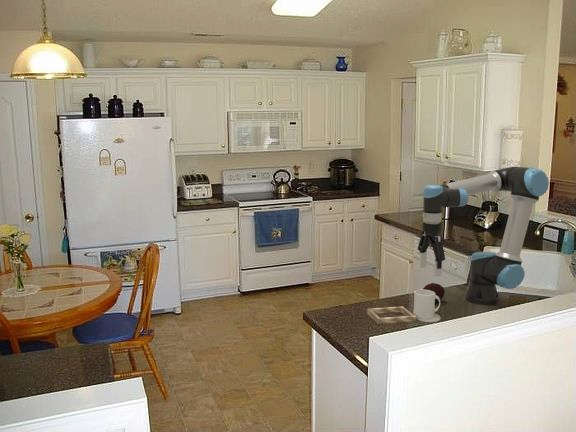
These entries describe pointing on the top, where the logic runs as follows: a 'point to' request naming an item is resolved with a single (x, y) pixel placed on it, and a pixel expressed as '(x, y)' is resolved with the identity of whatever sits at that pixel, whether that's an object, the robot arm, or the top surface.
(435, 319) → the plate
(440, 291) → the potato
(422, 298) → the mug
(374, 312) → the wooden picture frame
